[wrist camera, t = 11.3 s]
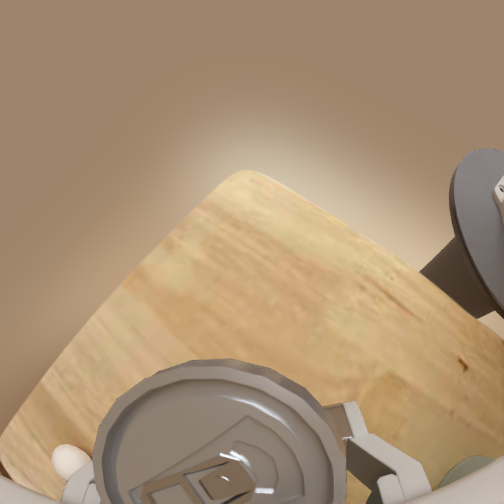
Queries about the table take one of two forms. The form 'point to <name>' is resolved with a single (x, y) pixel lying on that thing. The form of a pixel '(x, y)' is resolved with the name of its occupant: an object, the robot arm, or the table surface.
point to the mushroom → (68, 460)
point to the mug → (465, 468)
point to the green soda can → (219, 440)
